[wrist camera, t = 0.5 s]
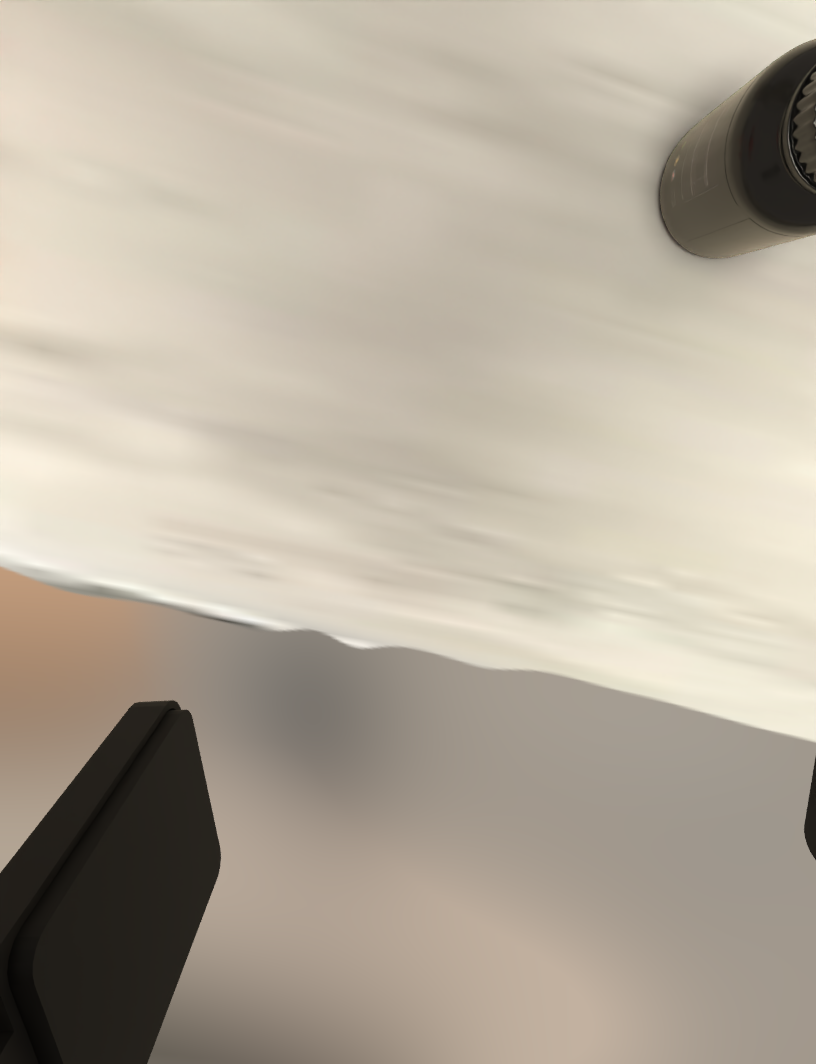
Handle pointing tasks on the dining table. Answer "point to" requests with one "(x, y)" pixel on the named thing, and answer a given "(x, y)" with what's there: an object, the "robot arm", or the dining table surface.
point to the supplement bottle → (748, 165)
